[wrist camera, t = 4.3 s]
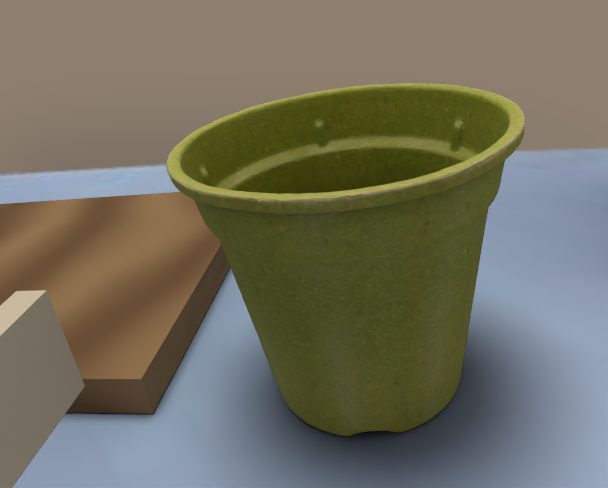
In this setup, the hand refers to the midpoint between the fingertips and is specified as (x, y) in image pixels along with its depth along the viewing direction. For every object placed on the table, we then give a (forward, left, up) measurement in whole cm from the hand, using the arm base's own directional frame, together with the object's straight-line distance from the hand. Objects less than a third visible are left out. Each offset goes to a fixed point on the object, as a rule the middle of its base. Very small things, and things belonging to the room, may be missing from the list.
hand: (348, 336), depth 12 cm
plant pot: (0, +6, -6) cm, 8 cm away
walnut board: (-17, +12, -6) cm, 21 cm away
